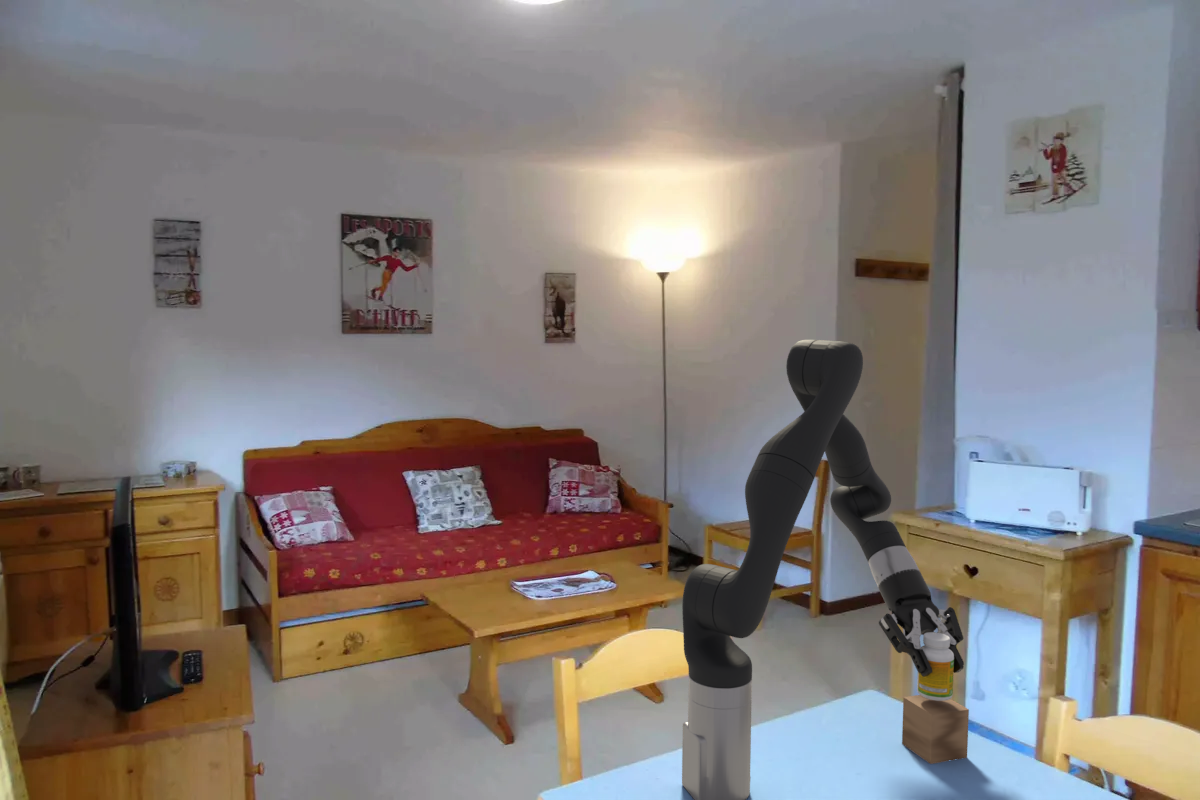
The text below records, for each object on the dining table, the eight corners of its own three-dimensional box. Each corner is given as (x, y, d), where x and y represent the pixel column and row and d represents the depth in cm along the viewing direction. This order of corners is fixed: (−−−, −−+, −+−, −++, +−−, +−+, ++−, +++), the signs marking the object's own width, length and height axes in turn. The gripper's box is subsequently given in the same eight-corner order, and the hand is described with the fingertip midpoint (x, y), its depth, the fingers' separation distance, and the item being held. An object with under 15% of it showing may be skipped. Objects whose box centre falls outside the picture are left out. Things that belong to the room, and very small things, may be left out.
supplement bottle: (955, 703, 133) (958, 643, 133) (919, 700, 134) (922, 640, 134) (948, 689, 139) (951, 631, 138) (914, 686, 140) (916, 629, 139)
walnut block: (930, 764, 133) (932, 714, 132) (902, 744, 139) (903, 697, 139) (967, 758, 135) (968, 709, 134) (937, 738, 141) (938, 692, 141)
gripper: (872, 570, 140) (917, 667, 130) (944, 564, 145) (993, 657, 134) (853, 592, 146) (894, 687, 135) (922, 586, 150) (968, 677, 139)
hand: (943, 672), depth 135 cm, fingers closed on supplement bottle, 5 cm apart
